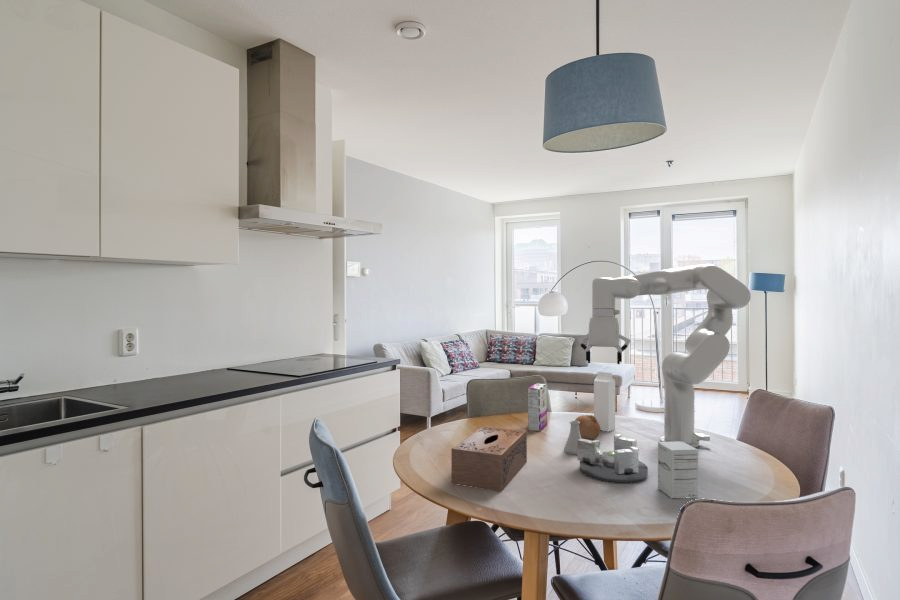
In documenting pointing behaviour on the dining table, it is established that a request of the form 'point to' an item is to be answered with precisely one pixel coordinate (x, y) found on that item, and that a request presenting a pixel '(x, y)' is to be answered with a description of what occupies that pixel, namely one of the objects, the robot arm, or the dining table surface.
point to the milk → (604, 401)
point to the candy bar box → (537, 407)
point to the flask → (573, 438)
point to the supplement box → (678, 469)
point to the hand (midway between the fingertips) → (603, 363)
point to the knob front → (588, 451)
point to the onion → (588, 427)
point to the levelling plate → (612, 471)
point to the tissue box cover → (489, 458)
